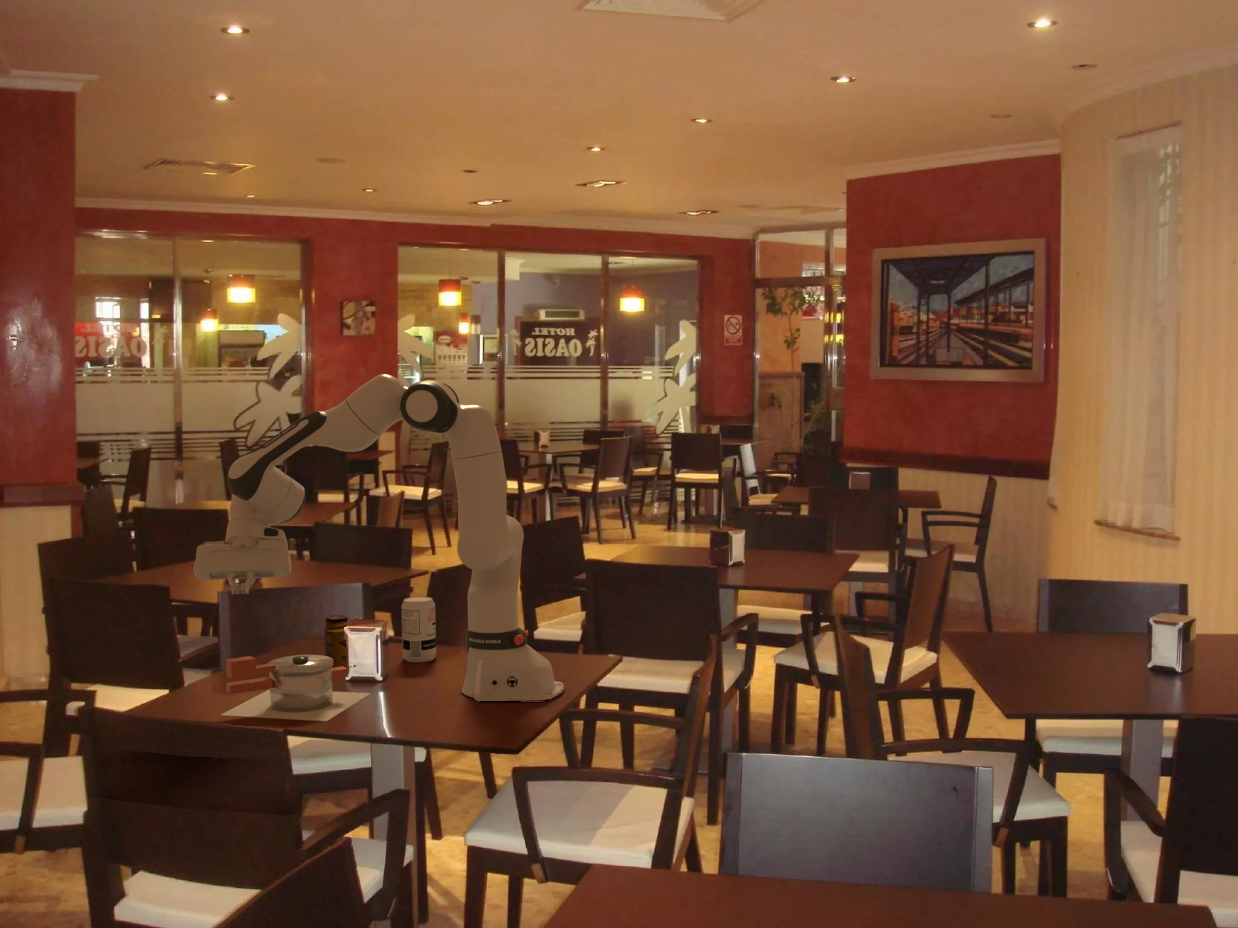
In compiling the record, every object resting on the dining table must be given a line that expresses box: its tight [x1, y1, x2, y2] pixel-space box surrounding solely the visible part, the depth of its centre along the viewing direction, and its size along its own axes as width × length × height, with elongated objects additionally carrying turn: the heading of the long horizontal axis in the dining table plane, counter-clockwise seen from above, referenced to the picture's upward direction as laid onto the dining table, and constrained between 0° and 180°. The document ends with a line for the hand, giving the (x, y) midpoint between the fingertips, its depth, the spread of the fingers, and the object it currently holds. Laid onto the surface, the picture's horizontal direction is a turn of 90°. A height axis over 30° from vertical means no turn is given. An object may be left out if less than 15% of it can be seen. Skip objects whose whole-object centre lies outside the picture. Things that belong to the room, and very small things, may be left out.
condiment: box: [324, 614, 349, 667], centre depth 309 cm, size 7×8×12 cm
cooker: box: [225, 666, 349, 712], centre depth 272 cm, size 20×20×8 cm
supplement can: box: [401, 596, 437, 664], centre depth 315 cm, size 8×8×15 cm
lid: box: [225, 654, 333, 680], centre depth 270 cm, size 22×14×4 cm, turn 127°
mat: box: [220, 688, 372, 722], centre depth 274 cm, size 24×22×1 cm
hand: (239, 592), depth 272 cm, fingers closed
